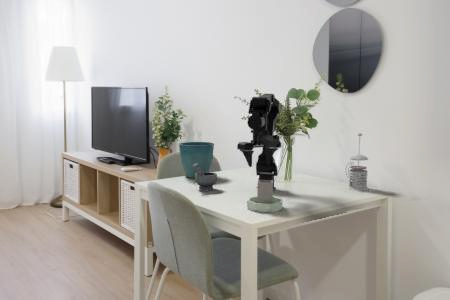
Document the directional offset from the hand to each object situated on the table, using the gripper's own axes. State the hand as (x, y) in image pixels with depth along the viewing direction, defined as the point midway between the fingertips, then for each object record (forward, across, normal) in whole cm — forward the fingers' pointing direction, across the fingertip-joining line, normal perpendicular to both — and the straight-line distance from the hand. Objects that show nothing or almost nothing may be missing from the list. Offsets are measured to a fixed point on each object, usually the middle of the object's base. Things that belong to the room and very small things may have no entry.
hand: (259, 165), depth 187 cm
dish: (+13, -9, -15) cm, 22 cm away
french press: (+13, +47, -11) cm, 50 cm away
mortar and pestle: (+13, -11, +25) cm, 30 cm away
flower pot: (+13, +2, +54) cm, 56 cm away
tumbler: (+12, -9, -15) cm, 22 cm away
